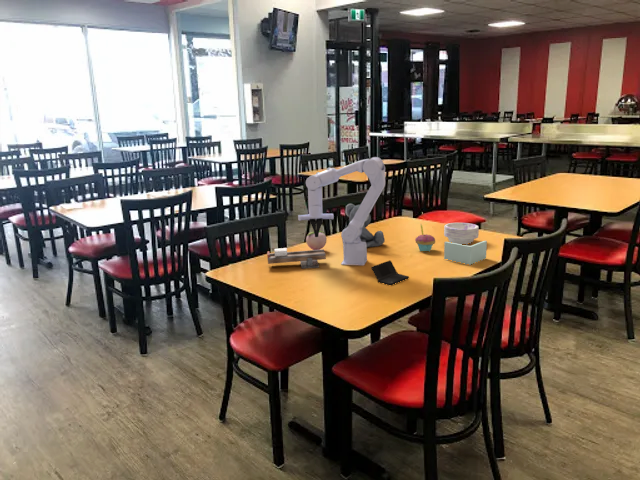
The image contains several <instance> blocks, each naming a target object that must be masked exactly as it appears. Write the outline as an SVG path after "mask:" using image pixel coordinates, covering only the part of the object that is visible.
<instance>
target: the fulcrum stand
mask: <svg viewBox="0 0 640 480" xmlns="http://www.w3.org/2000/svg"><path fill="white" fill-rule="evenodd" d="M318 261H319V260H312V258H307V261H299V263H300V267H301V269H302V270H304V269H317V268H320V265H319V262H318Z"/></svg>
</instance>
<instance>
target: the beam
mask: <svg viewBox="0 0 640 480" xmlns="http://www.w3.org/2000/svg"><path fill="white" fill-rule="evenodd" d="M266 253H267V254H266V255H267V264H269V265H273V264H282V263H297V262H298V263H299V262H300V261H307V258H312V260H317V261H320V260H327V259H326V258H327V256H326V252H325V249H323V248H322V249H320V250H313V249H309V250H300V251H299V250H298V251H287V256H284V257H275V252H273V253H270V251H267V252H266Z"/></svg>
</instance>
